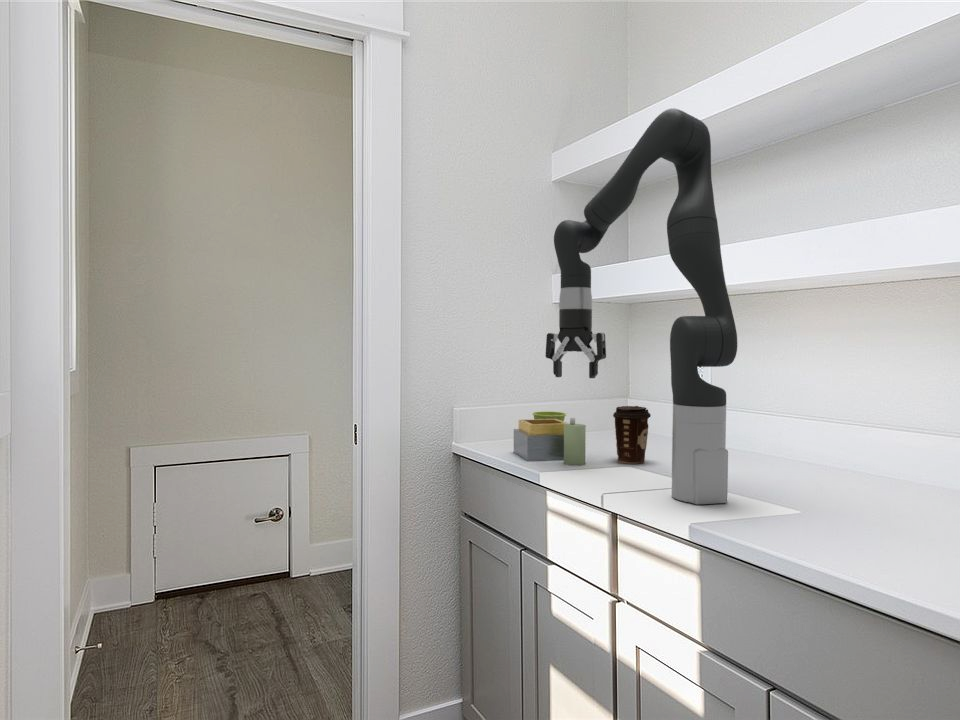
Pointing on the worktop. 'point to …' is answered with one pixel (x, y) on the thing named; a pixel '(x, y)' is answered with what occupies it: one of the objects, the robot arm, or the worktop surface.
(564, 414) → the plant pot
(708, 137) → the robot arm
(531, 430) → the open square metal box
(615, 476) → the worktop surface
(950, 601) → the worktop surface
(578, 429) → the spout can
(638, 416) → the coffee cup
